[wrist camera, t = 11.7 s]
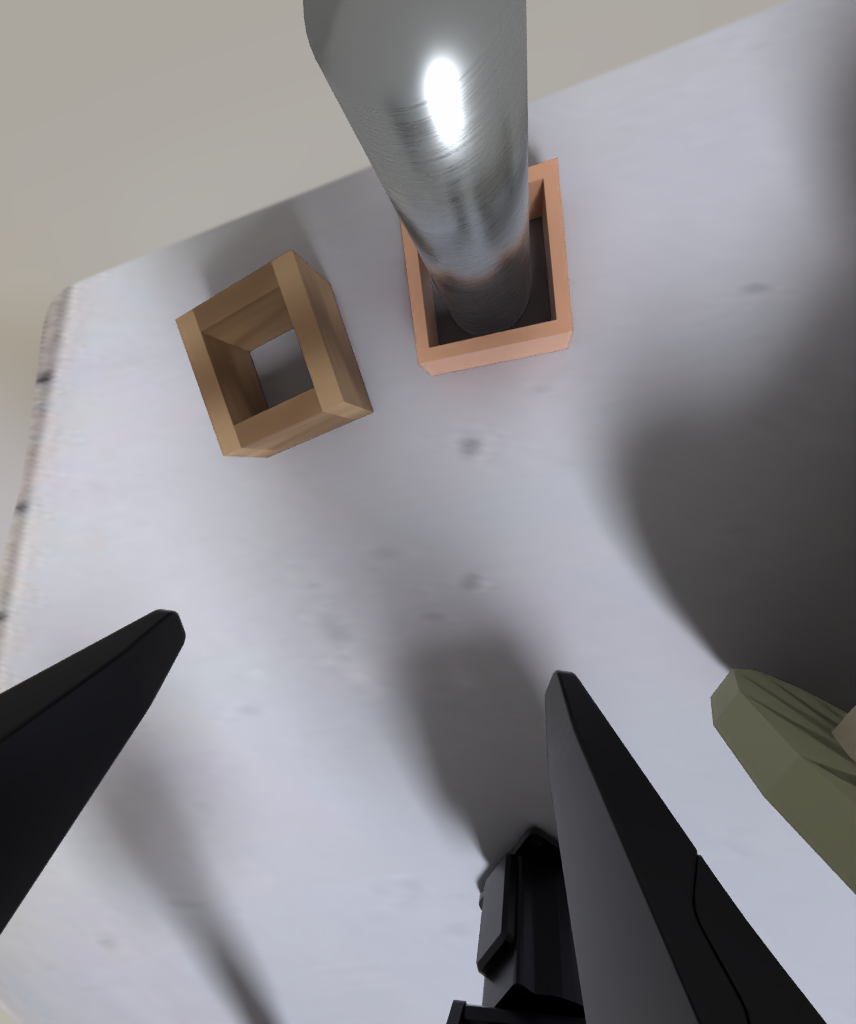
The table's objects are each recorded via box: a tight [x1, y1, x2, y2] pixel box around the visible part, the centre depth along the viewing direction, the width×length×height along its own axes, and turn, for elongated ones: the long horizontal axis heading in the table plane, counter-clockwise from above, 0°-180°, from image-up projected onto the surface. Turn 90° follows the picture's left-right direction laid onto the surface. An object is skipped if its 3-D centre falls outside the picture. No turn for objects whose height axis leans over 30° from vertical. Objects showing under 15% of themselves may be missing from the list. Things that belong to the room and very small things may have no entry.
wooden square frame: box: [176, 249, 373, 458], centre depth 21 cm, size 7×7×4 cm
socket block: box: [400, 158, 573, 376], centre depth 18 cm, size 7×7×2 cm
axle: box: [303, 0, 530, 337], centre depth 13 cm, size 4×4×13 cm
